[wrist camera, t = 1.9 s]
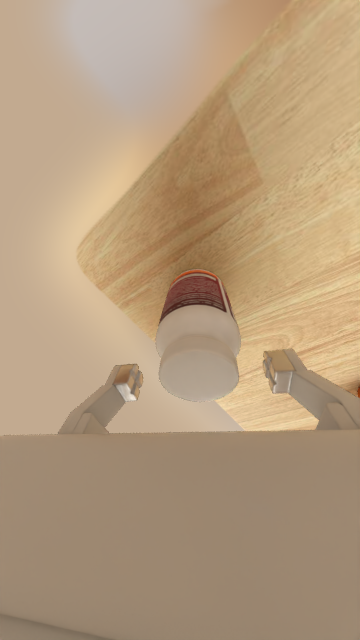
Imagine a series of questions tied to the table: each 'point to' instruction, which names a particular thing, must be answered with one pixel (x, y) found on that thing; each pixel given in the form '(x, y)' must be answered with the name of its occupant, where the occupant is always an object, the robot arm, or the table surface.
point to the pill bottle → (198, 338)
